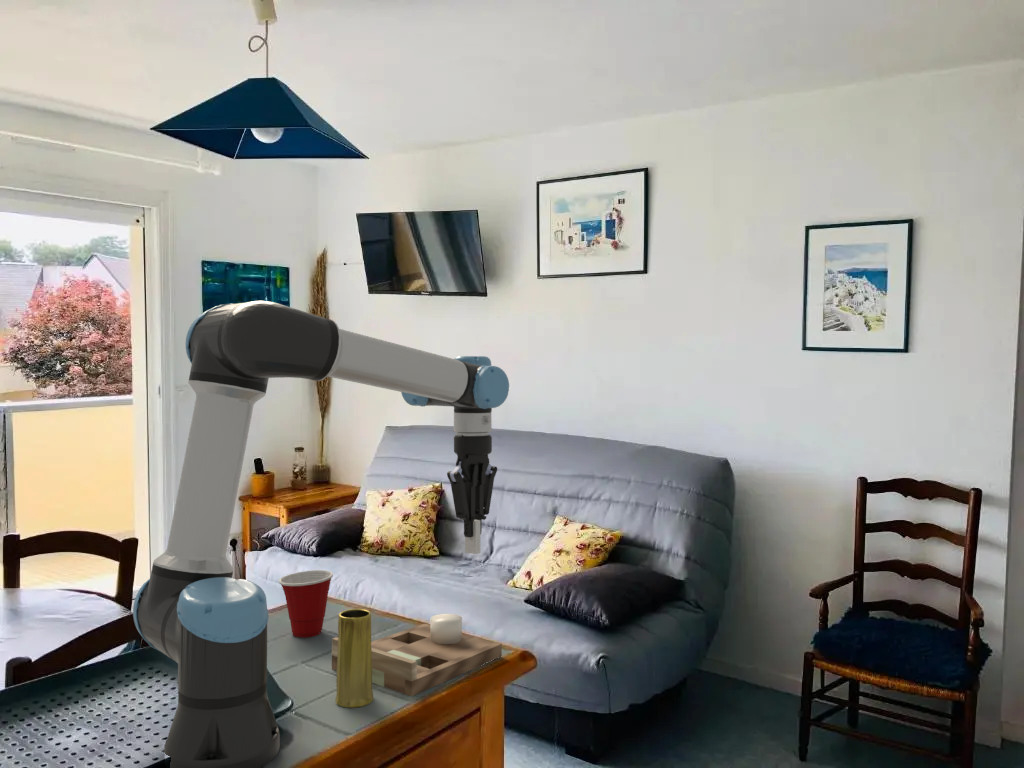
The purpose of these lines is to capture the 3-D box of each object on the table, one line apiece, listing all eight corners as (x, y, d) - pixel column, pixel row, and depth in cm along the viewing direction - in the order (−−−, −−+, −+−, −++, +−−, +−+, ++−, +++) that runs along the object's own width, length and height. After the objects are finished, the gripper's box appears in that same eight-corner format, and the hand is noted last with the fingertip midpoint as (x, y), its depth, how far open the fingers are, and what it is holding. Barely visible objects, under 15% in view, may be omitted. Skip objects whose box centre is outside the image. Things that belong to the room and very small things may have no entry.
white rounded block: (447, 646, 151) (447, 625, 151) (423, 640, 155) (423, 619, 155) (468, 638, 156) (468, 617, 156) (445, 632, 160) (445, 611, 160)
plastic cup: (283, 625, 171) (283, 569, 171) (335, 624, 172) (335, 568, 172) (273, 642, 160) (274, 582, 160) (329, 641, 162) (329, 581, 162)
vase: (370, 691, 136) (370, 606, 136) (376, 705, 130) (376, 617, 130) (333, 696, 134) (333, 609, 134) (337, 710, 128) (338, 620, 128)
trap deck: (411, 696, 134) (411, 663, 134) (331, 669, 146) (331, 638, 146) (501, 657, 153) (501, 627, 153) (424, 635, 165) (424, 608, 165)
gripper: (465, 437, 154) (465, 561, 154) (508, 432, 164) (507, 549, 164) (436, 435, 158) (436, 555, 159) (479, 431, 169) (479, 544, 169)
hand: (472, 552), depth 162 cm, fingers closed
